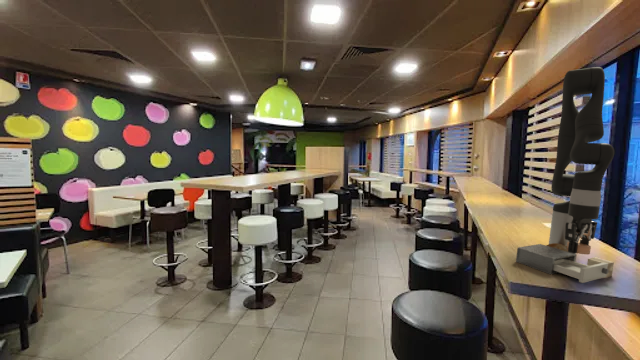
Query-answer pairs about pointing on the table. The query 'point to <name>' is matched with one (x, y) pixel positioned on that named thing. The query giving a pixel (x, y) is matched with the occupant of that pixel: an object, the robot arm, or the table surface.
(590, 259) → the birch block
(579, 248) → the coaster
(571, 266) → the tray
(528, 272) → the table surface
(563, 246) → the bread roll
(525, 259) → the player housing
